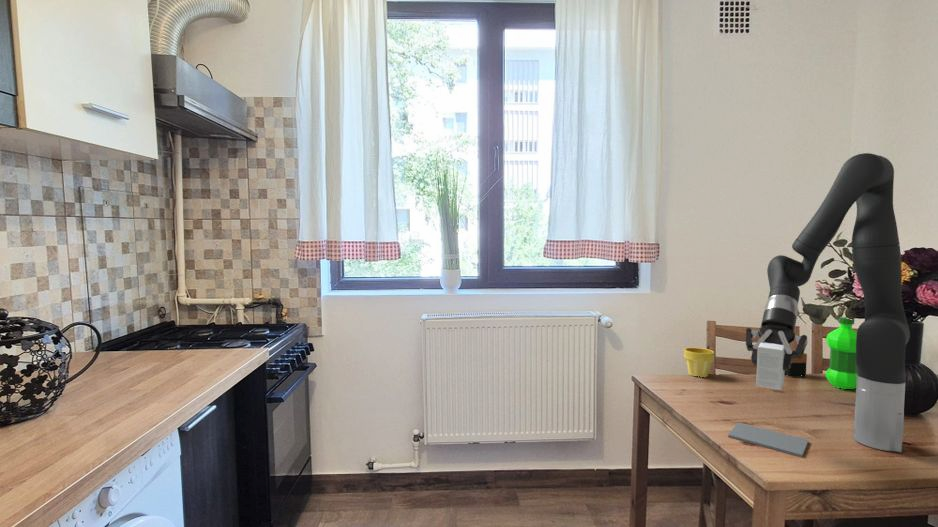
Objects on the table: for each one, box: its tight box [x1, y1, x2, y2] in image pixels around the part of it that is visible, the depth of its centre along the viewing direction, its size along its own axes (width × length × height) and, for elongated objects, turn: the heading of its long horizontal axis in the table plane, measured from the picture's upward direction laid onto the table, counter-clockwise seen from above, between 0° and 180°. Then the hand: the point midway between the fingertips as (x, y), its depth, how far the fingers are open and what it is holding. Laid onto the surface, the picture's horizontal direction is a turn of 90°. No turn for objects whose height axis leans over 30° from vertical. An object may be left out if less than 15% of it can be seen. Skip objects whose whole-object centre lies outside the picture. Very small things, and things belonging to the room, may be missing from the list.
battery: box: [784, 349, 808, 377], centre depth 172 cm, size 4×7×10 cm, turn 93°
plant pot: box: [683, 346, 715, 378], centre depth 173 cm, size 10×10×10 cm
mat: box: [727, 422, 809, 458], centre depth 118 cm, size 16×11×1 cm
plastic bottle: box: [825, 316, 857, 390], centre depth 158 cm, size 10×10×25 cm
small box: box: [755, 342, 785, 391], centre depth 117 cm, size 8×6×10 cm
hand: (769, 366), depth 116 cm, fingers closed on small box, 6 cm apart
